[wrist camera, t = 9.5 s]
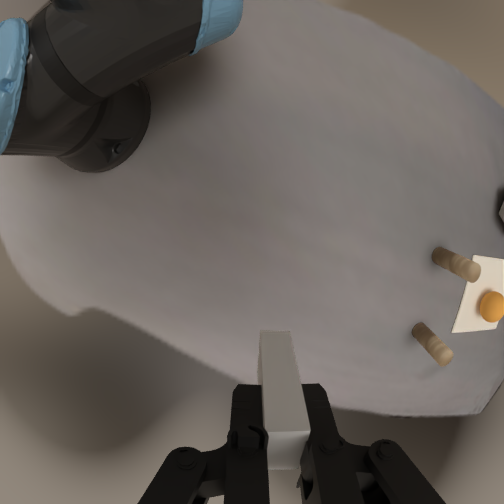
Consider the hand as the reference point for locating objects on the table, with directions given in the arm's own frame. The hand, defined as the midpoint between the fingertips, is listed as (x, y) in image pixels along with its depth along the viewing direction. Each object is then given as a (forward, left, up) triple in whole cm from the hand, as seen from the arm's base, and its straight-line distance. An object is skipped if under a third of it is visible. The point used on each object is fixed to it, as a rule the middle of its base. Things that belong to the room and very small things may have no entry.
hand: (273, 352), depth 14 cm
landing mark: (+4, +41, -23) cm, 47 cm away
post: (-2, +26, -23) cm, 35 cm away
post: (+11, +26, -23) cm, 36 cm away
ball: (+6, +41, -20) cm, 46 cm away
